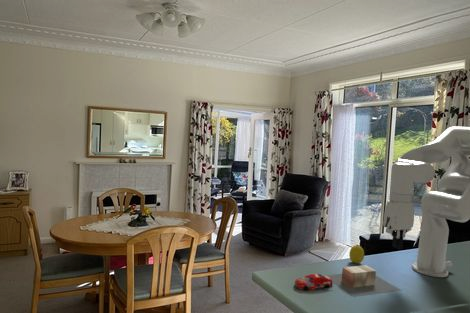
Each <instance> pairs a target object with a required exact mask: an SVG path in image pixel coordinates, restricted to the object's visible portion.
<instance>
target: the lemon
mask: <svg viewBox="0 0 470 313" xmlns="http://www.w3.org/2000/svg"><path fill="white" fill-rule="evenodd" d="M348 255H349V259H350V261H351V262H352V263H354V264H356V265H357V264H360V263H362V262H364V259H365V251H364V248H362V246H361V245H359V244H355V245H353V246H351V247H350V251H349V254H348Z"/></svg>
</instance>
